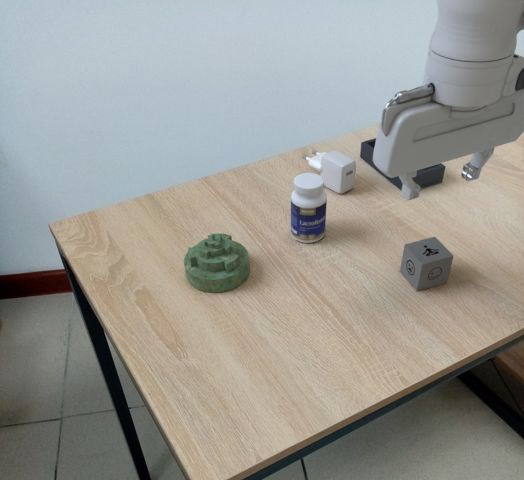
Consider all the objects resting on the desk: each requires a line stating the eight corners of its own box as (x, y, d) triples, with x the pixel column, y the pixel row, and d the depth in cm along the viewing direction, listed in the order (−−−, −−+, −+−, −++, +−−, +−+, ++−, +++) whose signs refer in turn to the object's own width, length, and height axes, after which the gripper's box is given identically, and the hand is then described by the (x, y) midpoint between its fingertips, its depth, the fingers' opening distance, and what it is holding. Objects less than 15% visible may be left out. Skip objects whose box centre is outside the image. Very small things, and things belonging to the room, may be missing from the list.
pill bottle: (300, 248, 86) (300, 193, 79) (285, 229, 90) (283, 176, 82) (331, 238, 88) (334, 183, 80) (315, 220, 91) (316, 167, 84)
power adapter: (298, 174, 102) (297, 145, 97) (316, 165, 104) (317, 136, 99) (338, 197, 96) (340, 167, 91) (357, 187, 97) (360, 157, 93)
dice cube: (416, 291, 78) (422, 264, 74) (399, 271, 81) (404, 244, 77) (446, 282, 79) (453, 255, 75) (428, 263, 82) (434, 236, 78)
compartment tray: (394, 147, 107) (396, 132, 105) (442, 181, 97) (445, 166, 95) (359, 157, 105) (361, 142, 103) (405, 193, 95) (407, 178, 93)
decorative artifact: (187, 255, 87) (186, 295, 80) (179, 218, 81) (178, 258, 75) (247, 249, 87) (252, 289, 80) (244, 212, 82) (248, 251, 75)
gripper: (402, 106, 54) (385, 221, 64) (556, 66, 59) (518, 179, 69) (369, 85, 58) (358, 197, 68) (516, 49, 63) (485, 158, 73)
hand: (439, 187), depth 69 cm, fingers open, 8 cm apart
